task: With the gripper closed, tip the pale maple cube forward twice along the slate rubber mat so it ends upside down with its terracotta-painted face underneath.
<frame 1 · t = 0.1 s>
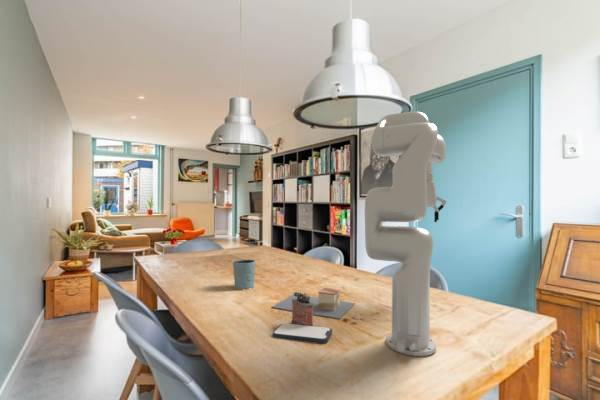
hand: (422, 221, 124), 31 cm above the table, tool pointing down, fingers open, 9 cm apart
rubber mat: (314, 305, 115), on the table
teal cup: (243, 287, 141), on the table
phone case: (302, 336, 90), on the table
maple cube: (329, 307, 113), resting on rubber mat
lighter: (302, 326, 96), on the table
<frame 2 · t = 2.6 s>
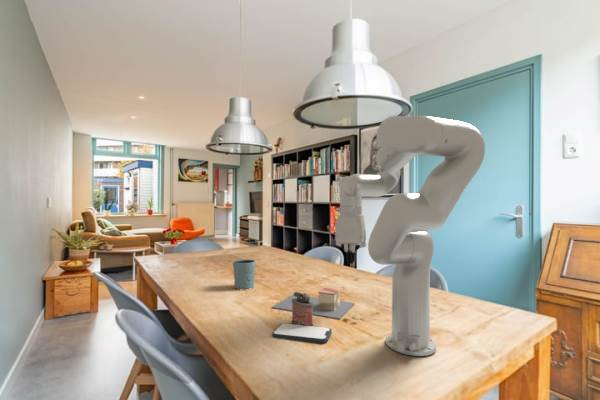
hand: (350, 263, 110), 17 cm above the table, tool pointing down, fingers closed
nothing on the table moved.
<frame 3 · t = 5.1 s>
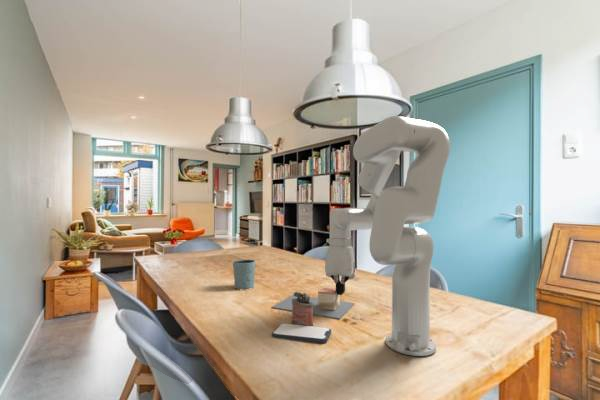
hand: (340, 293, 111), 6 cm above the table, tool pointing down, fingers closed
maple cube: (329, 306, 113), resting on rubber mat, touching gripper
everything else where it was.
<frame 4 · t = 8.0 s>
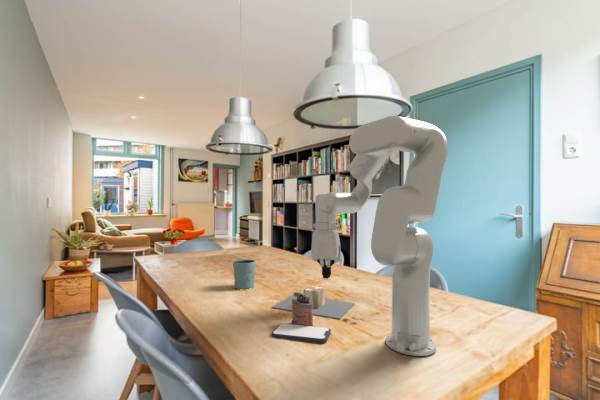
hand: (326, 277, 113), 11 cm above the table, tool pointing down, fingers closed
maple cube: (321, 297, 114), point 3 cm above the table, tilted 90°, touching rubber mat
everything else where it was.
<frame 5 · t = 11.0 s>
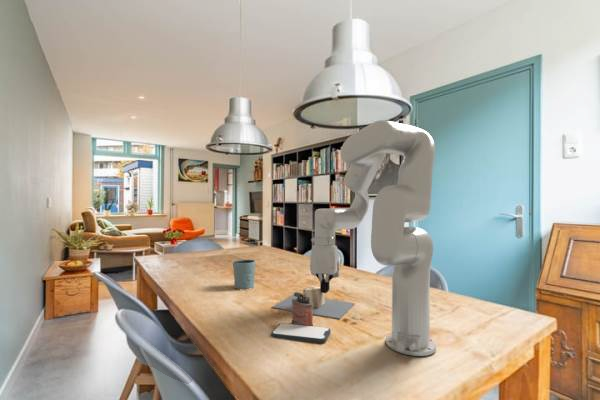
hand: (324, 292, 114), 6 cm above the table, tool pointing down, fingers closed
maple cube: (321, 297, 114), point 4 cm above the table, tilted 91°, touching gripper, rubber mat
everything else where it was.
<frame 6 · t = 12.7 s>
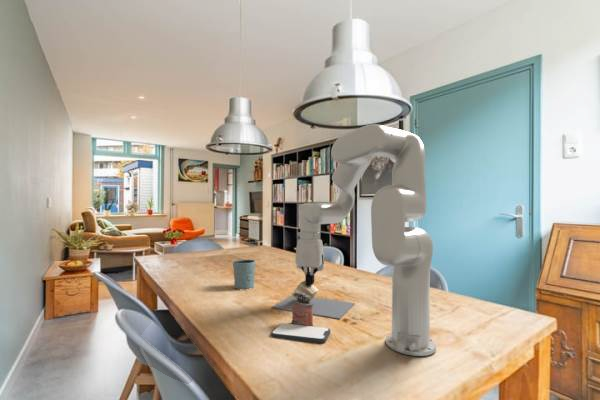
hand: (309, 284, 117), 8 cm above the table, tool pointing down, fingers closed
maple cube: (309, 286, 116), point 7 cm above the table, tilted 144°, touching gripper, rubber mat
everything else where it was.
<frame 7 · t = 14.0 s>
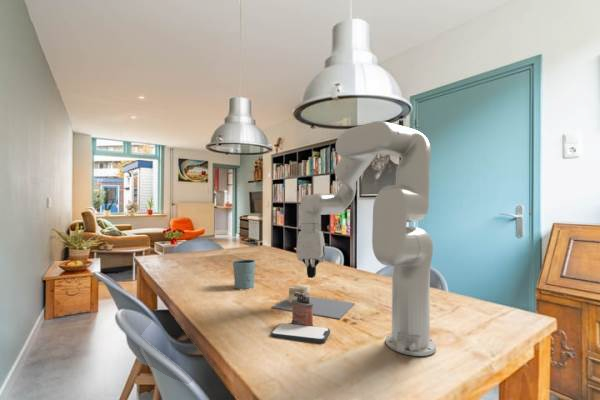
hand: (311, 277, 116), 11 cm above the table, tool pointing down, fingers closed
maple cube: (299, 286, 118), point 6 cm above the table, tilted 180°, touching rubber mat
everything else where it was.
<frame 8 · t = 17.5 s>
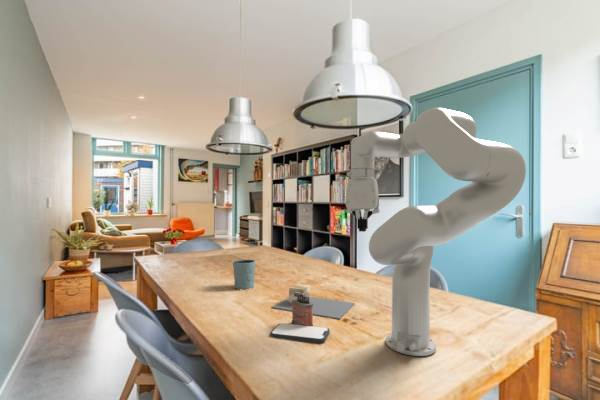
hand: (362, 231, 101), 29 cm above the table, tool pointing down, fingers closed
nothing on the table moved.
at the end: maple cube tilted 180°; maple cube touching rubber mat; maple cube moved 13.4 cm from its start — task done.
